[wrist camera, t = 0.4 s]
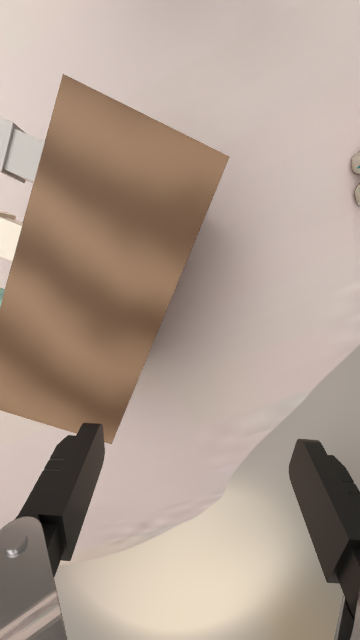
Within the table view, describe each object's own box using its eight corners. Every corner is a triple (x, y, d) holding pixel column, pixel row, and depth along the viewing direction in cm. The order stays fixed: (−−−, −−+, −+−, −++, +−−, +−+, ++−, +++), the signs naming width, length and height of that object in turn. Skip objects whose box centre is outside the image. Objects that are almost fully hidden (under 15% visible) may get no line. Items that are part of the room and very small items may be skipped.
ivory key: (5, 211, 26) (-21, 205, 23) (93, 248, 27) (82, 247, 24) (-5, 249, 27) (-31, 249, 23) (82, 282, 28) (69, 287, 25)
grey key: (24, 136, 25) (0, 116, 21) (116, 178, 26) (108, 166, 22) (13, 178, 26) (-12, 166, 22) (103, 217, 27) (94, 211, 23)
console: (114, 163, 32) (63, 74, 16) (198, 202, 34) (229, 156, 17) (58, 335, 37) (-26, 402, 21) (133, 362, 38) (111, 444, 22)
